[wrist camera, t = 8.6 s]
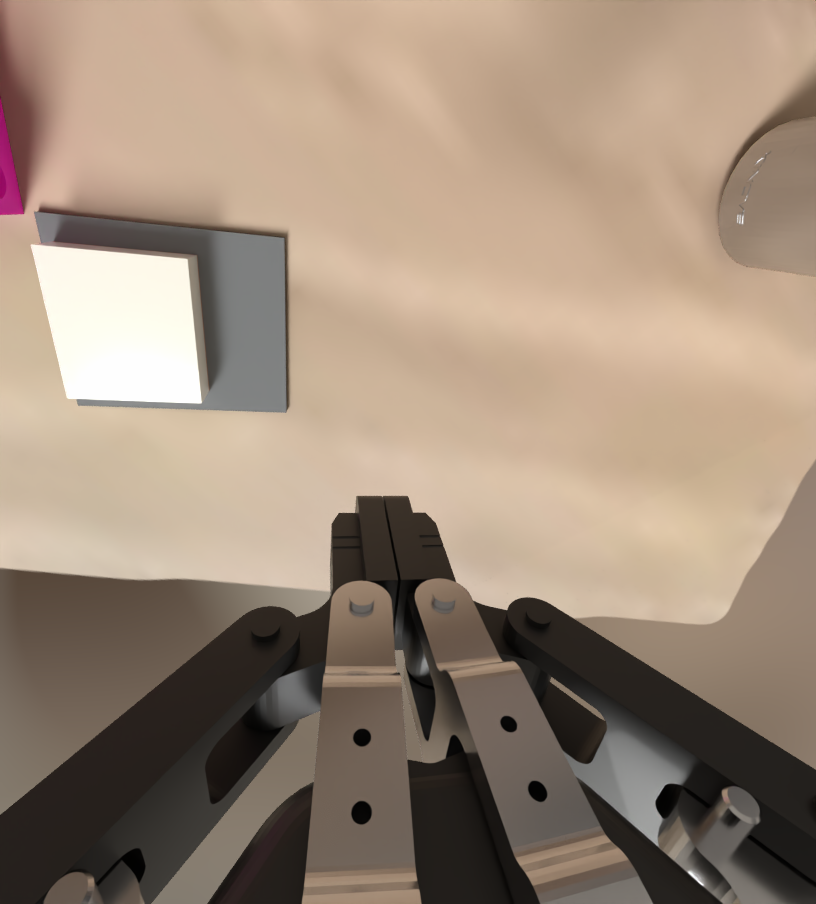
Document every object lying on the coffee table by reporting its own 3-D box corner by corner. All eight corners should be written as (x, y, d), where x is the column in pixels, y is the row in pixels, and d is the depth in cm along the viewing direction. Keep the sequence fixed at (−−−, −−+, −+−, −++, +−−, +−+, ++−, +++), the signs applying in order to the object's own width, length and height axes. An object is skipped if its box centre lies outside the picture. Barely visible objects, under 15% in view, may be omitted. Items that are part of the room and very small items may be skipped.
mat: (284, 237, 30) (284, 238, 30) (286, 410, 35) (286, 412, 35) (37, 211, 27) (33, 211, 27) (80, 403, 33) (77, 405, 32)
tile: (187, 258, 27) (30, 244, 25) (201, 403, 31) (67, 398, 30) (197, 255, 29) (53, 241, 28) (209, 390, 33) (84, 385, 32)
